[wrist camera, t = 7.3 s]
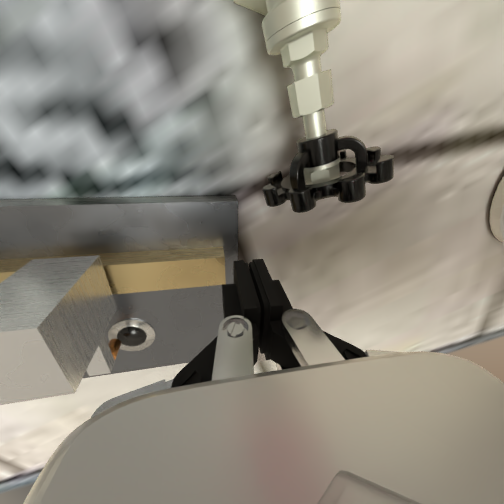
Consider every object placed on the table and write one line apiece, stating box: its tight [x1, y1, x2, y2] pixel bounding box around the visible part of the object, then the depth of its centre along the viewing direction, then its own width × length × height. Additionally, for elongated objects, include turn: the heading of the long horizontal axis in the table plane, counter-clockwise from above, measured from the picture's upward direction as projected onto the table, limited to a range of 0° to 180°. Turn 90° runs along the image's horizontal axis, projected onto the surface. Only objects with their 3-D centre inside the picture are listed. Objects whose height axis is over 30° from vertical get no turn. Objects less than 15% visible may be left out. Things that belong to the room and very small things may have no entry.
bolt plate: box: [0, 195, 238, 378], centre depth 12 cm, size 20×14×9 cm
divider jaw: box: [0, 255, 122, 405], centre depth 12 cm, size 3×8×6 cm, turn 179°
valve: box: [234, 0, 394, 213], centre depth 9 cm, size 7×7×12 cm
